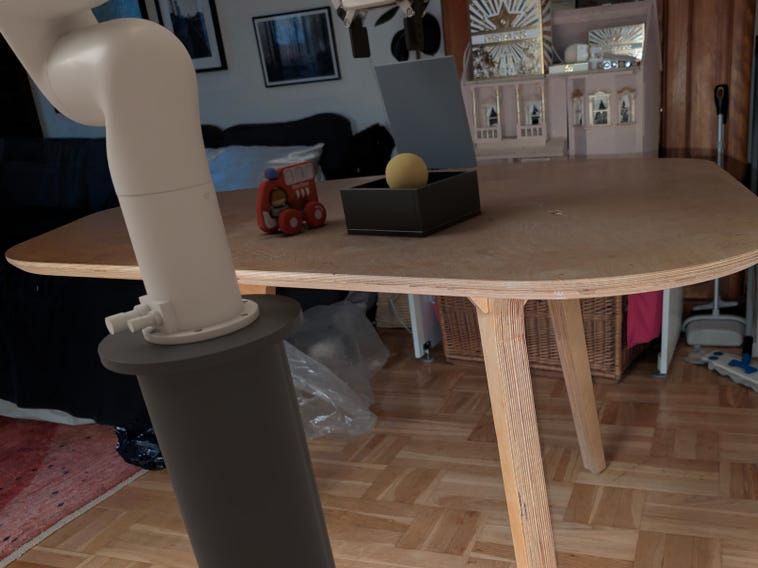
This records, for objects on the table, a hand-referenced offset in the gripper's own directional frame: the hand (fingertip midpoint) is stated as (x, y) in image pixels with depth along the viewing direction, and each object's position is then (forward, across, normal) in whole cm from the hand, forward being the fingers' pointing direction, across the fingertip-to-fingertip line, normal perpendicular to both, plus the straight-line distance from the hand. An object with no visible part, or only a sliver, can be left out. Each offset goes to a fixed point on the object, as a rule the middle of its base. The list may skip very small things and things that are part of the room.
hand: (388, 54), depth 98 cm
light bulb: (+24, -1, +2) cm, 24 cm away
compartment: (+24, -1, +3) cm, 25 cm away
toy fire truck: (+25, -22, -4) cm, 33 cm away
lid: (+9, -1, +9) cm, 12 cm away
